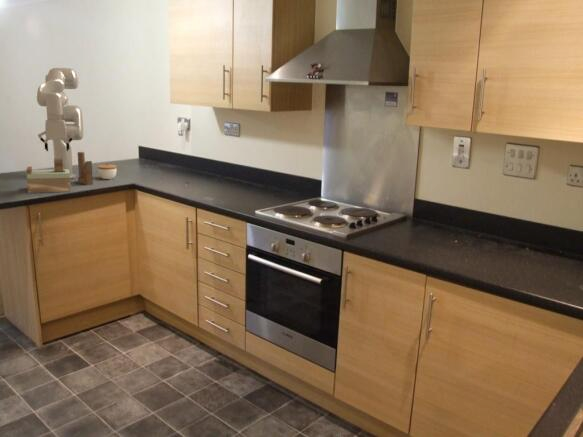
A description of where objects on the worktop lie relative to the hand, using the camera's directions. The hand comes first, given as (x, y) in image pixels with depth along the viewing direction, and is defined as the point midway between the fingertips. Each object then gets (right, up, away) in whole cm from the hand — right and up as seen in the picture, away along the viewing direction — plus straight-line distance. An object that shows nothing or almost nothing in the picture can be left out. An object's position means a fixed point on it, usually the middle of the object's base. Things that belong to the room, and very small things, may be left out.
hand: (57, 150), depth 275 cm
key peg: (-1, -20, +6) cm, 20 cm away
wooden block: (+6, -16, +23) cm, 29 cm away
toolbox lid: (-5, -13, +2) cm, 14 cm away
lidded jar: (+11, -12, +43) cm, 46 cm away
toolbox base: (-6, -21, +4) cm, 22 cm away
